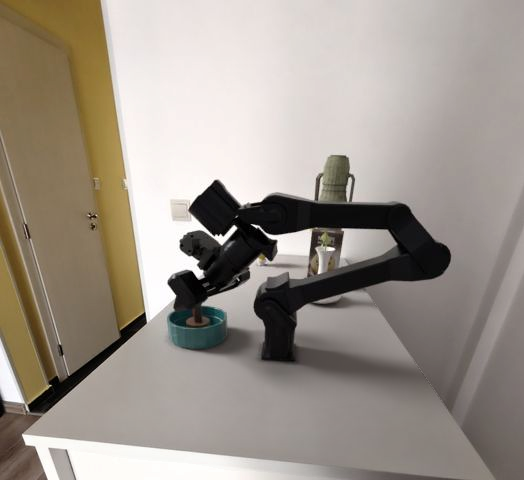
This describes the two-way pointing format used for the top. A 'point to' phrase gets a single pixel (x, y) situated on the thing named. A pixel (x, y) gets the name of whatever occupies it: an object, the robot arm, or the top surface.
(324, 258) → the flower in vase
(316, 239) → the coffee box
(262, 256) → the light bulb
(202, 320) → the brown peg stamp
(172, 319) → the bowl
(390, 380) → the top surface
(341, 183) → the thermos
